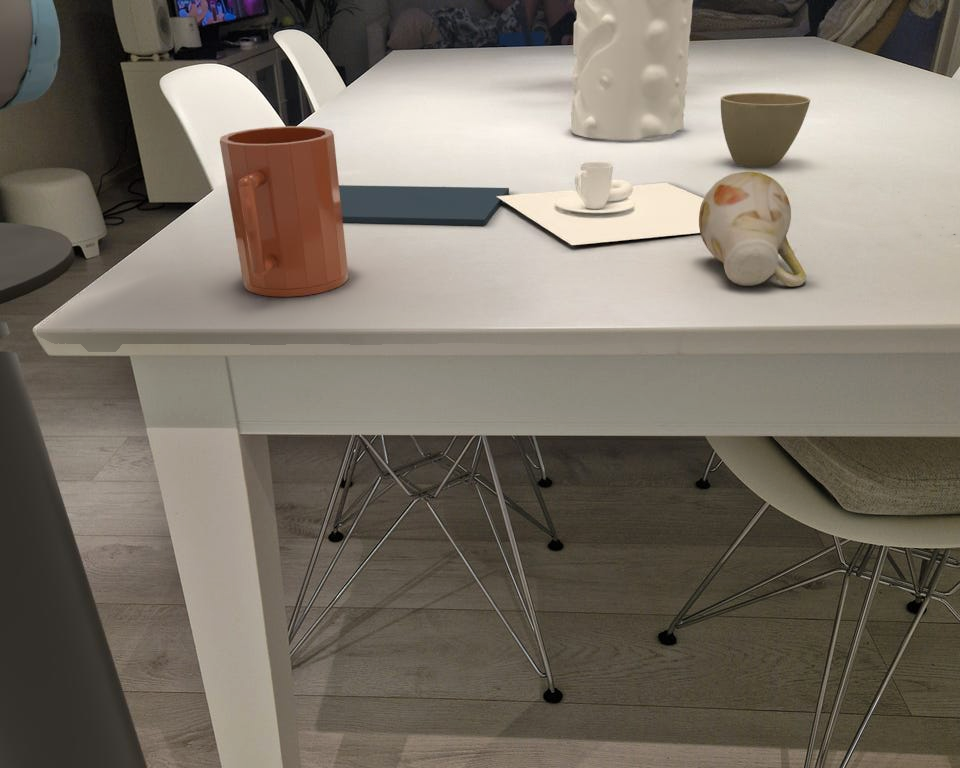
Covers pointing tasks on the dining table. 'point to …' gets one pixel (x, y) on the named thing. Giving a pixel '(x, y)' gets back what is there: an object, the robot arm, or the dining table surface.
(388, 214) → the mat
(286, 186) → the tall mug
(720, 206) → the floral patterned cup
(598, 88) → the vase
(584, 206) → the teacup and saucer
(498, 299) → the dining table surface
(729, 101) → the flower pot
